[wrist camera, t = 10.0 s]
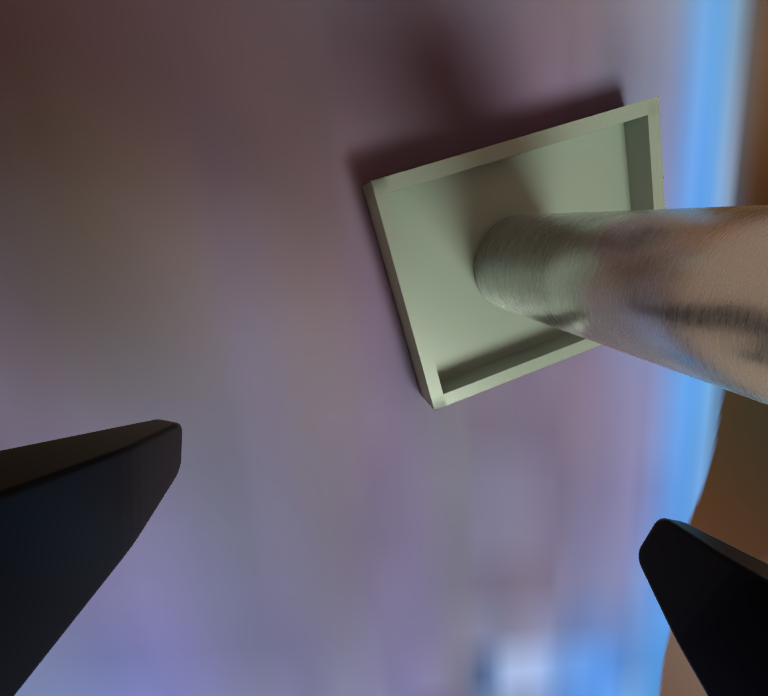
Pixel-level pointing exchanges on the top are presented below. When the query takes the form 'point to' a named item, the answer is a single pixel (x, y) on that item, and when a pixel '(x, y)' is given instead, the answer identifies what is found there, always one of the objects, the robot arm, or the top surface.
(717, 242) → the pin
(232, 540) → the top surface
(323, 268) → the top surface
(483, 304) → the tray
